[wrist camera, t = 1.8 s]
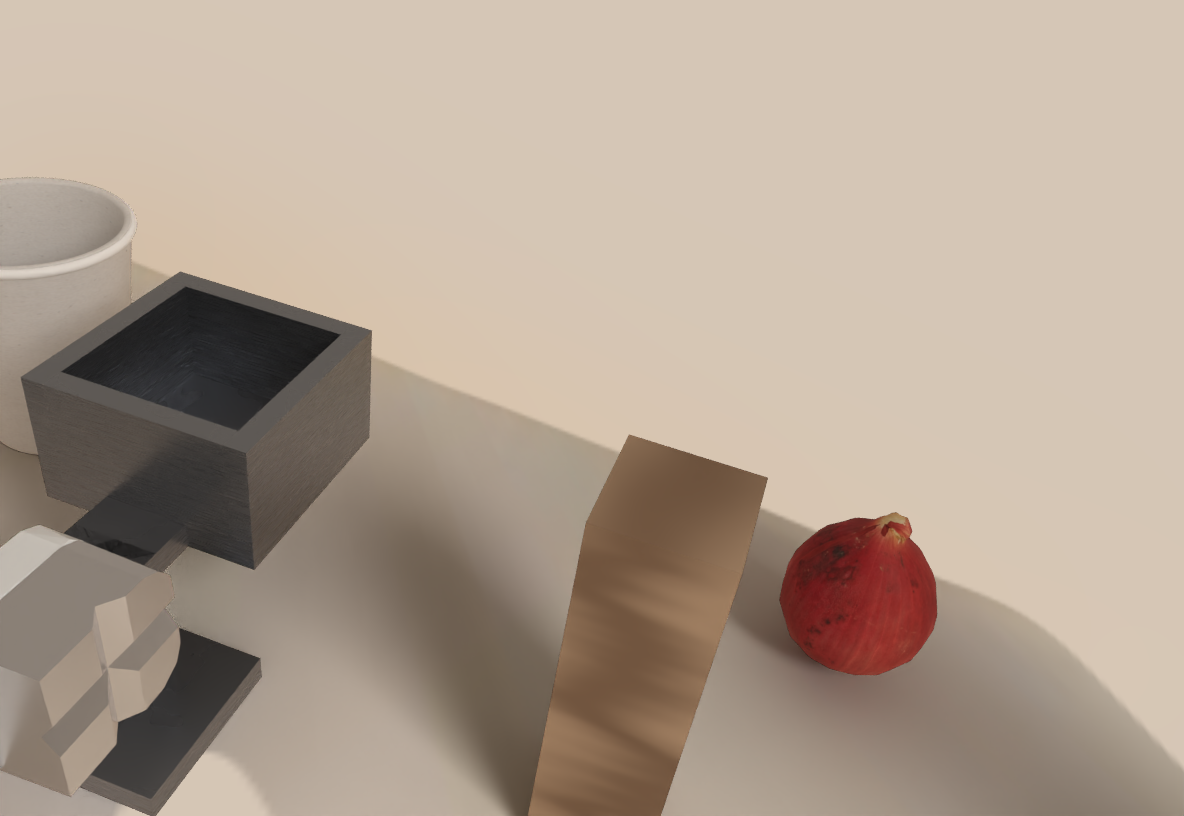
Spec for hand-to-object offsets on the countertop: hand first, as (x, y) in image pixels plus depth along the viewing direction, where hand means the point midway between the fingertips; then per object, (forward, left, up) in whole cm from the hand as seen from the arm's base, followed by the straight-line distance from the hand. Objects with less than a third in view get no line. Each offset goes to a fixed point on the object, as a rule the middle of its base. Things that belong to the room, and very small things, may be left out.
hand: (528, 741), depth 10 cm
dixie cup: (+29, -23, -22) cm, 43 cm away
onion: (-7, -24, -22) cm, 34 cm away
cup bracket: (+17, -15, -22) cm, 32 cm away
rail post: (0, -14, -22) cm, 26 cm away
